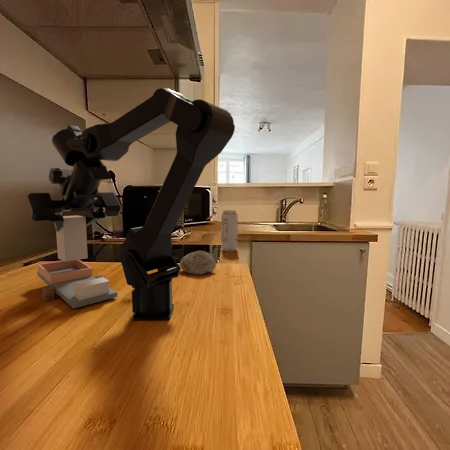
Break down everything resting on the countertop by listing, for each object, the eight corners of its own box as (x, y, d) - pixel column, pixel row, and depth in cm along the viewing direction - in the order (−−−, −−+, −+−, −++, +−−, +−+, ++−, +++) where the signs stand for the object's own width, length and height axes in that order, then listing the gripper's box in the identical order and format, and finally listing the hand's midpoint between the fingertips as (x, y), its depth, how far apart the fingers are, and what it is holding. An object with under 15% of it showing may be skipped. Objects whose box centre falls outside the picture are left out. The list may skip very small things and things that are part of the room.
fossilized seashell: (171, 266, 84) (180, 242, 85) (190, 270, 93) (197, 248, 94) (203, 279, 79) (212, 253, 80) (219, 282, 88) (227, 259, 89)
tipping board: (117, 296, 64) (117, 280, 63) (73, 308, 57) (73, 290, 56) (76, 268, 77) (76, 254, 77) (37, 275, 71) (37, 260, 70)
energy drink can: (239, 251, 112) (239, 211, 111) (223, 252, 111) (223, 211, 109) (234, 248, 118) (235, 210, 116) (219, 249, 117) (219, 210, 115)
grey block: (87, 258, 73) (85, 216, 72) (65, 261, 69) (62, 218, 68) (79, 255, 76) (77, 215, 75) (57, 258, 73) (55, 216, 71)
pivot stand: (105, 286, 71) (105, 276, 71) (46, 301, 62) (45, 289, 62) (100, 284, 73) (100, 274, 73) (42, 298, 64) (41, 287, 63)
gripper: (113, 159, 74) (96, 203, 83) (24, 152, 61) (15, 205, 69) (131, 191, 69) (110, 234, 78) (38, 192, 56) (27, 243, 65)
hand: (69, 228), depth 73 cm, fingers closed on grey block, 5 cm apart
